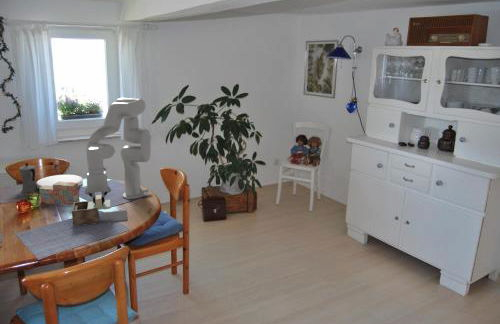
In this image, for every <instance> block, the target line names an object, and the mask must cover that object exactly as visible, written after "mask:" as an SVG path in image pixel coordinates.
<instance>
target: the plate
mask: <svg viewBox="0 0 500 324" xmlns="http://www.w3.org/2000/svg"><path fill="white" fill-rule="evenodd" d="M59 181H60V182H73V183H78V187H79V186H81V185H82V184H83V183H84V182H83V181H84V180H83V177H82V176H79V175H76V174H56V175H50V176H46V177H43V178H41V179H39V180H37V181H36V185H37V188H38V189H39V188H41V187H43V186H45V185H48V186H53V184H55V183H57V182H59Z"/></svg>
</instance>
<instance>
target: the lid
mask: <svg viewBox="0 0 500 324" xmlns="http://www.w3.org/2000/svg"><path fill="white" fill-rule="evenodd" d="M95 197H96V198H95V203H96V205H95V203H93V200H91V201H92V202H88V208H87V209H93V208H97V210H109V209H111V199H105V202H104V203H103V205H102V198H101V197H102V194H98V195H97V194H95Z"/></svg>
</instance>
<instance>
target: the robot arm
mask: <svg viewBox="0 0 500 324" xmlns="http://www.w3.org/2000/svg"><path fill="white" fill-rule="evenodd" d="M145 110H146V102H145V101H144V99H143V98H137V97H136V98H135V97H120V98H117V99H116V100H115V101H114V102H113V103H111V104H110V105H109V107H108V110H107V112H106V116H105V118H104V121H103V124H102V125H101V126H99V128H97V129H96V130H95V131H93V133H92V134H91V136H90V137H89V139H88V142H87V145H86V148H85V149H86V152H85V153H86V160H87V161H86V162H87V172H88V173H86V189H85V191H84V194H85V195H88V196H89V197H91V198H92V201H93V203H95V198H96V193H101V195H102V197H101V198H102V205H103V203H104V202H105V200H106V198H105V197H106V196H107V194H109V193H111V192H112V189H111V188H110V187H109V183H108V177H107V172H106V171H108V169H107V167H104V160H105V159H107V160H108V159H110V158H112V157H113V156H114V155H115V152H116V150H115V147H114V146H113V145H112V144H109V143H100V142H101V140H103V139H104V138H105V137H109V136H111V135H113V134H115V133H117V132H119V130H120V127H121V124H122V120H123V139H124V140H123V141H124V142H125V143H128V144H134V145H124V146H123V147H122V148H121V149H120V157H121V161H122V169H123V177H124V178H123V179H124V193H123V194H122V197H123V198H124V199H128V200H134V199H135V200H136V199H140V198H142V197H144V195H145V193H149V192H150V191H149V188H142V184H141V182H142V180H141V169H140V168H141V167H140V165H139V163H147V162H149V161H150V159H151V147H152V146H151V145H152V144H151V140H152V139H151V138H152V136H151V132H150V130H149V129H148V128H145V127H144V128H143V127H139V126H140V125H139V117H138V116H139V115H141V114H143V113H144V111H145ZM135 144H137V145H135ZM95 205H96V203H95Z"/></svg>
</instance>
